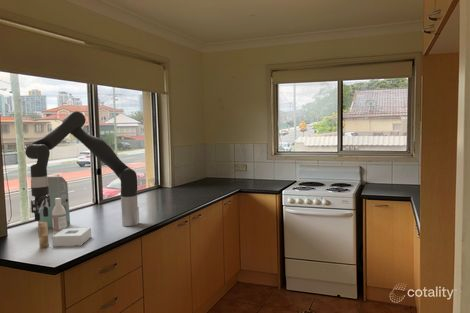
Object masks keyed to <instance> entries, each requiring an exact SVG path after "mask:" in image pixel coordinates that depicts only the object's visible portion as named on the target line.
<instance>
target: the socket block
mask: <svg viewBox="0 0 470 313" xmlns="http://www.w3.org/2000/svg"><path fill="white" fill-rule="evenodd" d="M90 237H91V238H92V227H75V228H74V227H72V228H70V227H69V228H67V229H63V230H61V231H60V232H58V233H57V234H55V235H52V236H51V241H52V242H51V243H52V247H71V246H72V247H73V246H75V245H79V246H82V244H83V243H84V242H85V243H86V242H87V241H88V240H90V239H91V238H90ZM89 238H90V239H89ZM85 243H84V244H85Z"/></svg>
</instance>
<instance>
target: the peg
mask: <svg viewBox="0 0 470 313" xmlns="http://www.w3.org/2000/svg"><path fill="white" fill-rule="evenodd" d="M37 228H38V239H39V242H38V244H39V248H40V249H45V248H46V249H47V248H49V247H50V244H49V243H50V242H49V231H48V230H49V229H48V228H49V227H47V222H40V223H37Z"/></svg>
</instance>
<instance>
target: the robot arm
mask: <svg viewBox="0 0 470 313" xmlns="http://www.w3.org/2000/svg"><path fill="white" fill-rule="evenodd" d="M86 121H87V120H86V116H85V115H84V114H83V112H81V111H78V110H75V111H72V112H70V113H69V114H68V115H66V116H65V117H64V118H63V119H62V120H61V123H60V124H59V125H58V126H56V128H53V129H52V130H51V131H49V132H48V133H47V134H46V135H44V136H43V137H42V138H40V139H38V140H36V141H33V142H32V143H30V144H28V146H27V147H26V148H25V153H24V154H25V156H26V157H27V158H28V159H30V160H36V163H35V164H31V165H30V190H31V191H30V192H31V197H34V199H31V200H30V207H31V208H30V210H31V211H30V212H31V213H32V214H34V220H35V221H36V222H38V221H40V209H42V207H43V216H44V217H47V216H48V209H49V207H50V196H49V195H48V194H49V186H48V178H47V176H48V169H47V168H48V164H49V159H50V150H51V151H52V150H54V148H55V147H57V146H58V145H59V144H60V143H61V142H62V141H63V140H64V139H65V138H66V137H67V136H69V135H70V134H71V136H73V137H74V138H76V139H77V140H78V141H79V142H80V143H81V144H82V145H83V146H85V147H86V148H87V149H88V151H90V152H91V153H92V154H93V155H94V156H95V157H96V158H97V159H98V160H99V161H101V163H103V164H104V165H105V166H107V167H108V168H110V170H112V171H113V173H114V174H115V175H116V176H117V177H118V179H119V180H120V207H121V210H120V211H121V224H122V225H121V226H124V227H134V226H138V225H139V224H140V210H139V209H140V208H139V206H138V174H137V172H136V171H135V170H134V169H132V168H130V167H129V166H128V165H127V164H125V163H124V162H123V161H122V160H121V159H120V158H119V156H118V155H117V154H116V153H115V151H114V150H113V148H111V146H110V145H109V144H108V143H107V142H105V141H104V140H103V139H101V138H99V137H97V136H94V135H91V134H89V133H88V132H86V131H85V130H84V129H83V126H84V125H85V123H86ZM35 221H34V222H35Z"/></svg>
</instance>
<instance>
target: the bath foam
mask: <svg viewBox="0 0 470 313" xmlns="http://www.w3.org/2000/svg"><path fill="white" fill-rule="evenodd" d="M52 222H53V228H52V234H53V235H52V236H54V235H55V234H57V233H58V232H60V231H61V230H63V229H68V226H67V220H66V211H65V208H64V207H63V206H62V205H61V198H55V207H54V209H53V211H52Z"/></svg>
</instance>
